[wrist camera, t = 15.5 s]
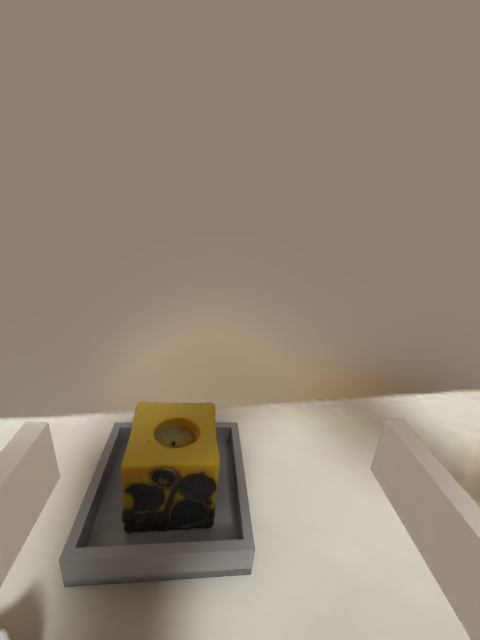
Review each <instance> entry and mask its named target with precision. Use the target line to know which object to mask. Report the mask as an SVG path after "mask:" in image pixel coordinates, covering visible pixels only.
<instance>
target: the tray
mask: <svg viewBox="0 0 480 640" xmlns="http://www.w3.org/2000/svg"><path fill="white" fill-rule="evenodd" d="M132 425H133V423H115V424H114V426H113V429H112V431H111V434H110V436H109V439H108V441H107V444H106V446H105V448H104V451H103V453H102V456H101V458H100V461H99V463H98V466H97V468H96V471H95V473H94V476H93V478H92V480H91V483H90V485H89V488H88V490H87V493H86V495H85V498H84V500H83V503H82V505H81V508H80V510H79V512H78V515H77V517H76V520H75V522H74V525H73V527H72V530H71V532H70V535H69V537H68V540H67V542H66V544H65V547H64V549H63V552H62V554H61V557H60V559H59V563H60V568H61V573H62V577H63V582H64V587H71V586H86V585H101V584H116V583H131V582H146V581H161V580H176V579H190V578H205V577H220V576H235V575H250V574H251V570H252V564H253V558H254V552H255V546H254V539H253V532H252V525H251V518H250V510H249V503H248V496H247V489H246V482H245V475H244V467H243V460H242V453H241V446H240V439H239V431H238V424H237V423H215V425H216V434H217V445H218V450H219V458H220V465H219V475H218V482H217V490H216V497H215V518H214V524H213V526H212V527H211V528H208V529H206V528H191V529H188V530H186V529H178V530H168V531H160V532H158V531H157V530H155V531H146V532H134V531H133V532H131V533H127V532H125V531H124V523H123V522H122V513H123V512H122V508H123V492H122V491H123V485H122V475H121V465H122V460H123V457H124V454H125V451H126V448H127V444H128V440H129V436H130V433H131V429H132Z"/></svg>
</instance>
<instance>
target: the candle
mask: <svg viewBox="0 0 480 640" xmlns="http://www.w3.org/2000/svg"><path fill="white" fill-rule="evenodd" d="M219 465H220V458H219V450H218V445H217V434H216V425H215V405H214V404H213V403H157V402H156V403H155V402H154V403H148V402H140V403H138V404H137V407H136V412H135V416H134V420H133V425H132V429H131V433H130V436H129V440H128V444H127V448H126V451H125V454H124V457H123V460H122V465H121V475H122V485H123V491H122V492H123V508H122V512H123V513H122V522H123V523H124V531H125V532H127V533H131V532H133V531H134V532H146V531H155V530H157V531H158V532H160V531H168V530H178V529H186V530H188V529H191V528H206V529H208V528H211V527H212V526H213V524H214V518H215V497H216V490H217V482H218V475H219Z"/></svg>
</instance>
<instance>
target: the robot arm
mask: <svg viewBox="0 0 480 640" xmlns="http://www.w3.org/2000/svg"><path fill="white" fill-rule="evenodd" d="M371 470H372V472H373V474H374V475H375V477H376V479H377V481H378V482H379V484H380V486H381V487H382V489H383V491H384V492H385V494H386V496H387V498H388V499H389V501H390V503H391V504H392V506H393V508H394V509H395V511H396V513H397V515H398V516H399V518H400V520H401V521H402V523H403V525H404V526H405V528H406V530H407V532H408V533H409V535H410V537H411V538H412V540H413V542H414V543H415V545H416V547H417V549H418V550H419V552H420V554H421V555H422V557H423V559H424V560H425V562H426V564H427V566H428V567H429V569H430V571H431V572H432V574H433V576H434V577H435V579H436V581H437V583H438V584H439V586H440V588H441V589H442V591H443V593H444V594H445V596H446V598H447V600H448V601H449V603H450V605H451V606H452V608H453V610H454V611H455V613H456V615H457V616H458V618H459V620H460V622H461V623H462V625H463V627H464V628H465V630H466V632H467V633H468V635H469V637H470V639H471V640H480V507H479V506H478V505H477V504H476V503H475V501H474V500H473V499H472V498H471V497H470V496H469V494H468V493H467V492H466V491H465V490H464V489H463V488H462V486H461V485H460V484H459V483H458V482H457V481H456V479H455V478H454V477H453V476H452V475H451V474H450V473H449V471H448V470H447V469H446V468H445V467H444V466H443V464H442V463H441V462H440V461H439V460H438V459H437V458H436V456H435V455H434V454H433V453H432V452H431V451H430V450H429V448H428V447H427V446H426V445H425V444H424V443H423V441H422V440H421V439H420V438H419V437H418V436H417V435H416V433H415V432H414V431H413V430H412V429H411V428H410V426H409V425H408V424H407V423H406V422H405V421H404V420H403V419H386V420H385V423H384V427H383V430H382V433H381V436H380V440H379V443H378V446H377V449H376V452H375V456H374V459H373V462H372V465H371ZM59 478H60V474H59V469H58V465H57V460H56V456H55V451H54V446H53V442H52V437H51V432H50V428H49V423H48V422H25V424H24V425H23V426H22V427H21V429H20V430H19V431H18V432H17V433H16V435H15V436H14V437H13V438H12V439H11V441H10V442H9V443H8V444H7V445H6V447H5V448H4V449H3V450H2V452H1V453H0V587H1V585H2V583H3V581H4V580H5V578H6V576H7V574H8V572H9V570H10V569H11V567H12V565H13V563H14V561H15V559H16V557H17V556H18V554H19V552H20V550H21V548H22V546H23V545H24V543H25V541H26V539H27V537H28V535H29V533H30V532H31V530H32V528H33V526H34V524H35V522H36V521H37V519H38V517H39V515H40V513H41V511H42V509H43V508H44V506H45V504H46V502H47V500H48V498H49V497H50V495H51V493H52V491H53V489H54V487H55V485H56V484H57V482H58V480H59Z"/></svg>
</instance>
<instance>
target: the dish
mask: <svg viewBox="0 0 480 640" xmlns="http://www.w3.org/2000/svg"><path fill="white" fill-rule="evenodd" d="M0 640H13V639H12V638H11V636H10V634H9V632H8V631H7V630H6V629H5V628H1V629H0Z"/></svg>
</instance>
